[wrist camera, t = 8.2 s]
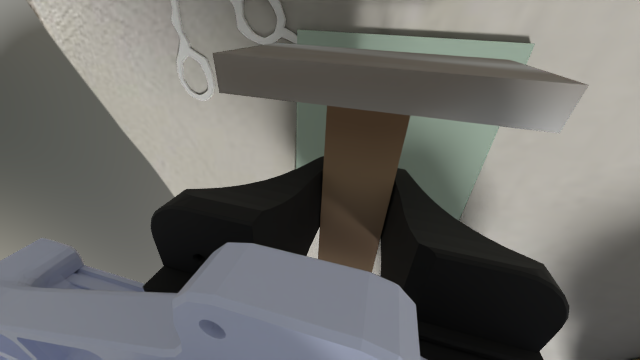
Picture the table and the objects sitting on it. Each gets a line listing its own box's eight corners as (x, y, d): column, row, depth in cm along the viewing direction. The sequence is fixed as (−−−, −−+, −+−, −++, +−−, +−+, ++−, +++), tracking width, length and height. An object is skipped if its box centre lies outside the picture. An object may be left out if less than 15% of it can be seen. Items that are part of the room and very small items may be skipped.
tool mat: (444, 248, 21) (445, 251, 20) (297, 216, 23) (295, 219, 23) (531, 43, 13) (535, 43, 13) (299, 29, 16) (297, 29, 15)
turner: (421, 270, 17) (429, 348, 13) (285, 238, 19) (255, 297, 15) (509, 59, 10) (588, 85, 6) (276, 42, 12) (212, 53, 8)
